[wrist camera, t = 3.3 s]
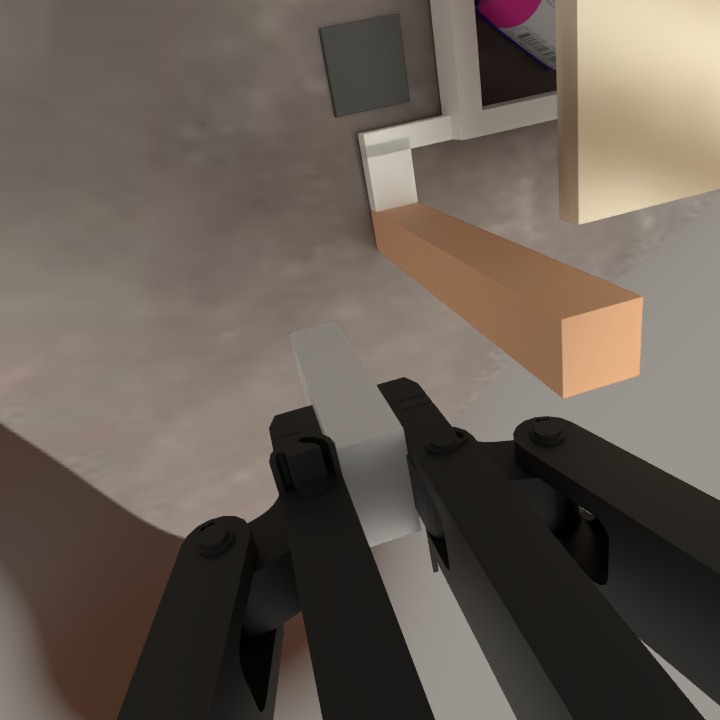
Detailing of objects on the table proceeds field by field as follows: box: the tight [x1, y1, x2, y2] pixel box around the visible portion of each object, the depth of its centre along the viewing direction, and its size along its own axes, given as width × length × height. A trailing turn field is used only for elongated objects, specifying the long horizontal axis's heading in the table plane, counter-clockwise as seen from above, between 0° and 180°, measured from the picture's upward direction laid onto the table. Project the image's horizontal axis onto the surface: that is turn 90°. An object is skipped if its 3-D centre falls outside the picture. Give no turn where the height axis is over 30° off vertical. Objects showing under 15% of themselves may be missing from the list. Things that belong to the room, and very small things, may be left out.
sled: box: [358, 0, 643, 398], centre depth 21 cm, size 18×17×19 cm
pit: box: [319, 14, 410, 117], centre depth 28 cm, size 4×4×1 cm
